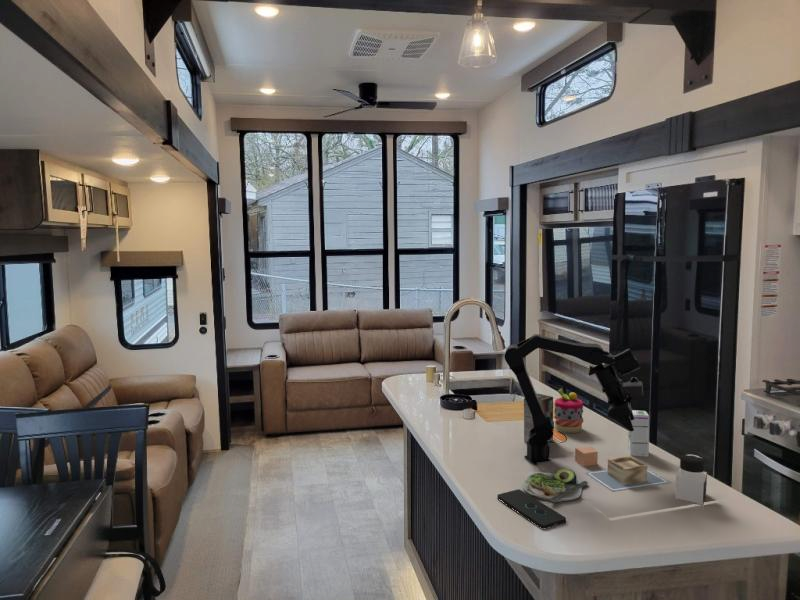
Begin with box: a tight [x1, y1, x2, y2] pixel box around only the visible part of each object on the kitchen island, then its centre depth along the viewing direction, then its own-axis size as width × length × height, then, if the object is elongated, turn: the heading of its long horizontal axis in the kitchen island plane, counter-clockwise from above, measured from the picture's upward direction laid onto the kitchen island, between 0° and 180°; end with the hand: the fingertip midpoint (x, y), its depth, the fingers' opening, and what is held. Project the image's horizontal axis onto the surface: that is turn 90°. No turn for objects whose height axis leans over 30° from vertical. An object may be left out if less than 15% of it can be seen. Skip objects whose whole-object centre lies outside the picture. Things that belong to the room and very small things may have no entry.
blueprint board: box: [584, 469, 672, 493], centre depth 181 cm, size 20×14×1 cm
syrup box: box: [627, 409, 650, 458], centre depth 200 cm, size 6×6×14 cm
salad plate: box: [522, 468, 589, 503], centre depth 174 cm, size 19×18×5 cm
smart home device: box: [497, 489, 567, 529], centre depth 163 cm, size 8×2×20 cm
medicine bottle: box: [674, 454, 708, 506], centre depth 167 cm, size 7×7×12 cm
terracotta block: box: [574, 445, 599, 467], centre depth 193 cm, size 5×5×5 cm
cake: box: [553, 388, 584, 434], centre depth 226 cm, size 10×11×15 cm
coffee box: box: [523, 393, 554, 443], centre depth 214 cm, size 9×6×16 cm
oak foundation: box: [607, 455, 649, 485], centre depth 181 cm, size 8×8×5 cm
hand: (632, 425), depth 189 cm, fingers open, 9 cm apart
